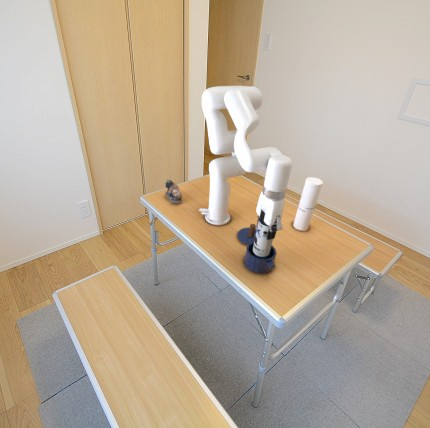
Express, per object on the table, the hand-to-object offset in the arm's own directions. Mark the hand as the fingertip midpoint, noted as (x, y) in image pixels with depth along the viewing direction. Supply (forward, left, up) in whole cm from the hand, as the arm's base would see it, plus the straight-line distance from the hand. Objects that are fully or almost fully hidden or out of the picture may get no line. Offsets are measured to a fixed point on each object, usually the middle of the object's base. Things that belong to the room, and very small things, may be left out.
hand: (265, 232), depth 105 cm
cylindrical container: (+22, +29, -16) cm, 40 cm away
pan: (0, 0, -16) cm, 16 cm away
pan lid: (-3, +16, -15) cm, 22 cm away
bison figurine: (-44, +41, -16) cm, 62 cm away
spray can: (0, 0, -10) cm, 10 cm away
